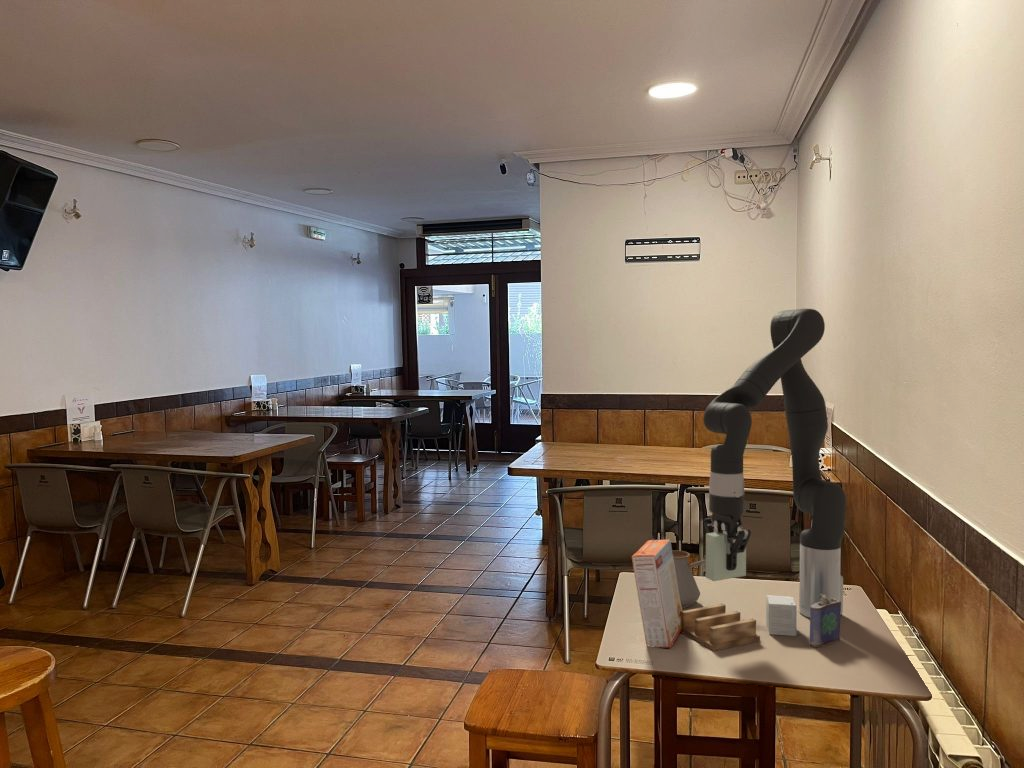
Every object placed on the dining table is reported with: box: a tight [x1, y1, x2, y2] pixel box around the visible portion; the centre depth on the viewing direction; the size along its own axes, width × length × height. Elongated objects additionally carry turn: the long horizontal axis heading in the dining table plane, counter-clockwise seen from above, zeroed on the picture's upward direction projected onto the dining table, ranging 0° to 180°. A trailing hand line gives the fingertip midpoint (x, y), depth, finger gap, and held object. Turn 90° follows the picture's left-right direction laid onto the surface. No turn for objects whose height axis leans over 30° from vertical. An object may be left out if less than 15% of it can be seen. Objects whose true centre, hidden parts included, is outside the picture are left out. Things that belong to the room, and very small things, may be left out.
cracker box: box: [631, 539, 683, 649], centre depth 166 cm, size 14×6×21 cm, turn 154°
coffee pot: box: [672, 549, 706, 609], centre depth 186 cm, size 21×12×15 cm, turn 75°
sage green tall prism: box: [705, 532, 747, 582], centre depth 163 cm, size 3×9×10 cm, turn 113°
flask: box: [809, 594, 841, 649], centre depth 162 cm, size 9×3×11 cm, turn 121°
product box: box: [765, 594, 798, 637], centre depth 168 cm, size 6×6×7 cm
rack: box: [680, 603, 761, 651], centre depth 166 cm, size 13×13×4 cm
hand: (726, 567), depth 163 cm, fingers closed on sage green tall prism, 2 cm apart
